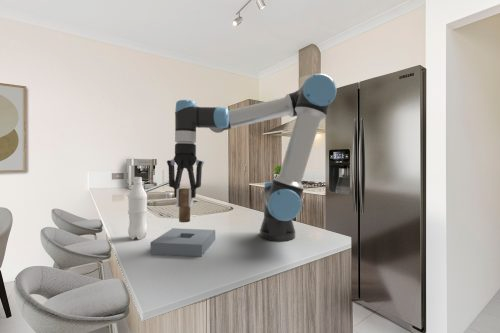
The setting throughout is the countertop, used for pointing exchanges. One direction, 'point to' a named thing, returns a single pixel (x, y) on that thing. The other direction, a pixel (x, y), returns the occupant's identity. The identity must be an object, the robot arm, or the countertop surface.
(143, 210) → the water bottle
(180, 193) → the peg
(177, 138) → the robot arm
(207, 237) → the socket board
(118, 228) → the countertop surface
